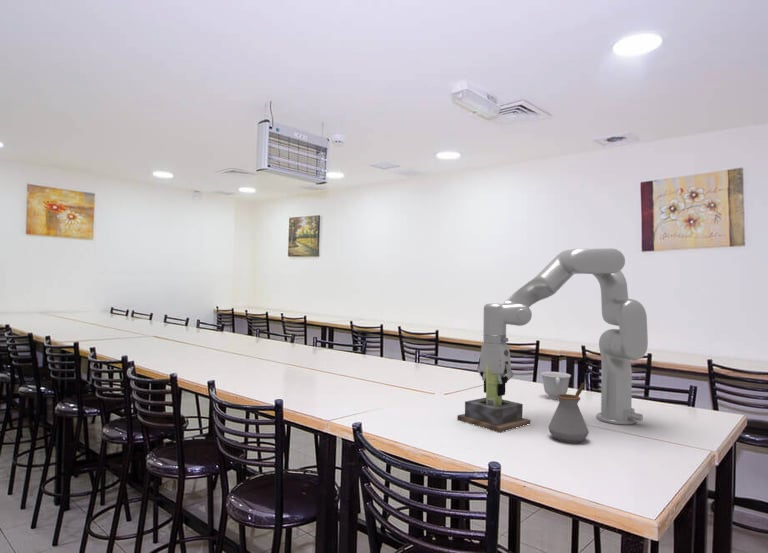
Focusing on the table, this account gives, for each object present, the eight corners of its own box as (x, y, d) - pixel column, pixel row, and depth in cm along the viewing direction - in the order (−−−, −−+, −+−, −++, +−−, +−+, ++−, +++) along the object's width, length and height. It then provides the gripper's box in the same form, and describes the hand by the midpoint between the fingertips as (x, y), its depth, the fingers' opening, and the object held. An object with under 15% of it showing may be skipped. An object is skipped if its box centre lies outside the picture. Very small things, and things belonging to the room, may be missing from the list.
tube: (495, 409, 168) (496, 353, 168) (505, 413, 164) (506, 355, 164) (482, 411, 165) (483, 353, 166) (493, 415, 161) (493, 356, 161)
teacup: (542, 401, 196) (542, 376, 196) (539, 394, 210) (539, 370, 210) (573, 404, 193) (574, 378, 193) (568, 396, 207) (569, 372, 208)
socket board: (530, 424, 162) (530, 404, 162) (499, 432, 152) (500, 411, 152) (487, 413, 176) (488, 395, 177) (457, 419, 166) (457, 400, 167)
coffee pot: (581, 447, 139) (581, 395, 140) (542, 439, 146) (542, 389, 147) (603, 431, 156) (603, 384, 156) (566, 424, 163) (567, 379, 163)
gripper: (522, 341, 161) (522, 397, 160) (482, 337, 174) (482, 388, 174) (508, 343, 156) (508, 400, 156) (468, 338, 169) (467, 390, 169)
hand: (494, 393), depth 165 cm, fingers closed on tube, 5 cm apart
